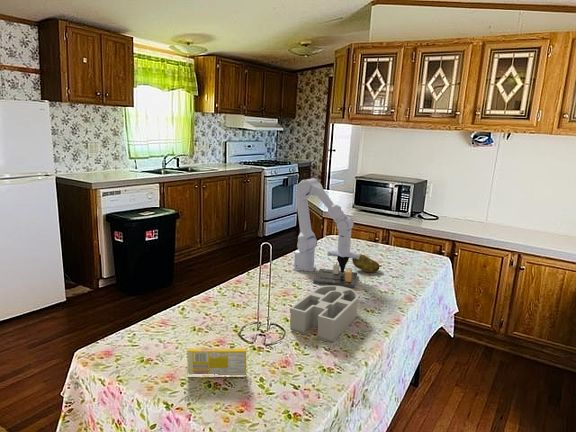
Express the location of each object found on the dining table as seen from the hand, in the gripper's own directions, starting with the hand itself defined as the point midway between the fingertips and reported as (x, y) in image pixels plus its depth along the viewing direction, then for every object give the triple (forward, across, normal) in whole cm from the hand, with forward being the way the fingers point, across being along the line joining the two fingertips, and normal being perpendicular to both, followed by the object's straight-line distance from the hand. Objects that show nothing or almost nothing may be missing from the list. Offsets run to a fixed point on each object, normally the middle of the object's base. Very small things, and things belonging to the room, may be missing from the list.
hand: (342, 271), depth 193 cm
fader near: (+1, +4, -8) cm, 9 cm away
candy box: (+3, -23, -88) cm, 91 cm away
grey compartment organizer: (+3, +1, -46) cm, 46 cm away
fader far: (+1, -3, 0) cm, 3 cm away
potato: (+3, +10, +12) cm, 16 cm away
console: (+2, -2, -4) cm, 5 cm away
